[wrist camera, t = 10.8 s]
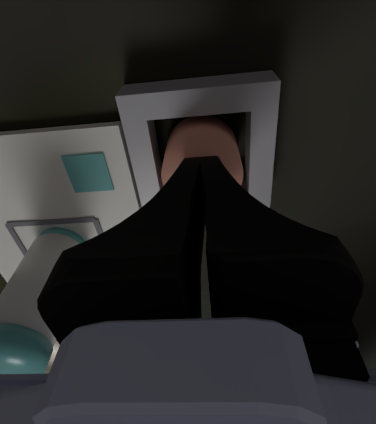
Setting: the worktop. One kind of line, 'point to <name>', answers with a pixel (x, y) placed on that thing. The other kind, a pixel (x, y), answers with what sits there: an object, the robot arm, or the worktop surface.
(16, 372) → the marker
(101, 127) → the picture card
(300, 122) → the worktop surface
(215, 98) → the button housing
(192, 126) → the button
